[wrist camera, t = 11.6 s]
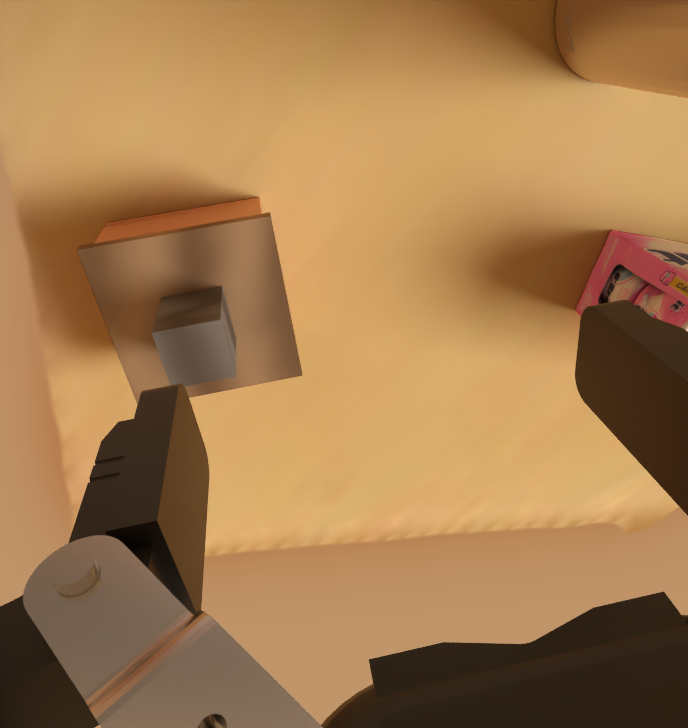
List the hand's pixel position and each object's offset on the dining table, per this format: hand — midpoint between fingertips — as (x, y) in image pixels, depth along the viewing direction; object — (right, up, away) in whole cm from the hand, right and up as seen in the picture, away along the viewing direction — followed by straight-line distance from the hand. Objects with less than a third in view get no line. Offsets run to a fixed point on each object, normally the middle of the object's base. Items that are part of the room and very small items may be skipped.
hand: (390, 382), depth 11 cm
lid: (-11, +4, +28) cm, 30 cm away
